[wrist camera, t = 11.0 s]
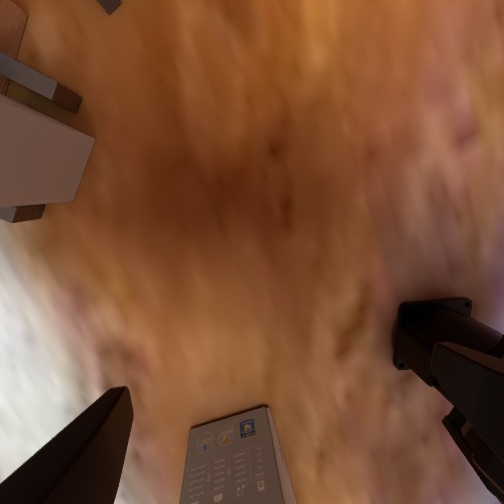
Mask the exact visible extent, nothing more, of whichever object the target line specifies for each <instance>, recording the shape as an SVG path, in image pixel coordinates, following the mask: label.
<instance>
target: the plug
mask: <svg viewBox="0 0 504 504" xmlns="http://www.w3.org/2000/svg"><path fill="white" fill-rule="evenodd" d="M94 142H95V139H94V138H92V137H90V136H88V135H86V134H84V133H82V132H80V131H78V130H76V129H74V128H72V127H70V126H68V125H66V124H64V123H62V122H60V121H58V120H56V119H54V118H52V117H50V116H48V115H46V114H44V113H42V112H40V111H38V110H36V109H34V108H32V107H30V106H28V105H26V104H24V103H21V102H19V101H17V100H14V99H12V98H10V97H7V96H5V95H3V94H0V208H1V207H12V206H24V205H36V204H48V203H59V202H71V201H73V200H74V198H75V195H76V192H77V189H78V186H79V184H80V181H81V178H82V175H83V173H84V170H85V167H86V164H87V161H88V159H89V156H90V153H91V150H92V148H93V145H94Z"/></svg>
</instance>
